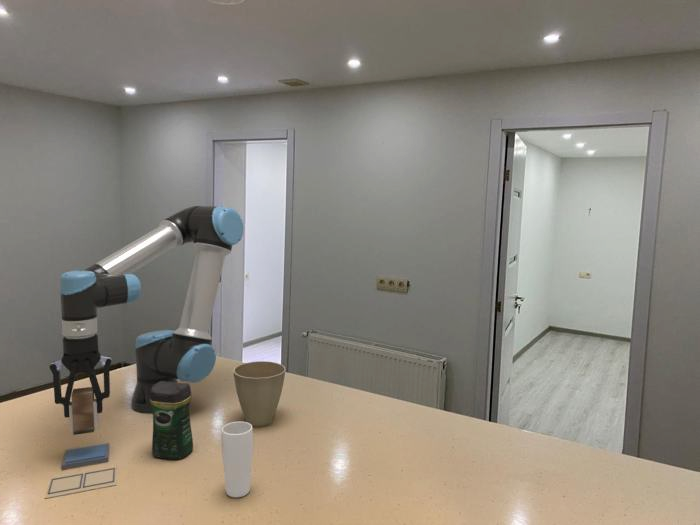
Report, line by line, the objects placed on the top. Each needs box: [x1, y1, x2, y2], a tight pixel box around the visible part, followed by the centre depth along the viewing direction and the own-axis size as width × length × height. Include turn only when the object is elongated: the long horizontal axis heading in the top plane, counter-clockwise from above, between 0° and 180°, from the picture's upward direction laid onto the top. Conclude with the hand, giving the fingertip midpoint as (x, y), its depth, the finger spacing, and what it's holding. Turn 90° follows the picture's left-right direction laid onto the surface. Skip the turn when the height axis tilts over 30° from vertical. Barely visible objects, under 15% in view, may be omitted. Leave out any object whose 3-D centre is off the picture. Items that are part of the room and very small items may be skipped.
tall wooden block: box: [71, 386, 96, 436], centre depth 125 cm, size 4×4×10 cm
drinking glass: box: [220, 421, 254, 498], centre depth 112 cm, size 7×7×15 cm
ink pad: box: [61, 442, 111, 471], centre depth 127 cm, size 10×8×2 cm
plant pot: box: [232, 360, 286, 428], centre depth 148 cm, size 15×15×16 cm
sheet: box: [44, 465, 118, 500], centre depth 116 cm, size 14×9×1 cm, turn 113°
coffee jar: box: [150, 381, 194, 460], centre depth 129 cm, size 10×8×19 cm
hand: (84, 427), depth 125 cm, fingers closed on tall wooden block, 4 cm apart
